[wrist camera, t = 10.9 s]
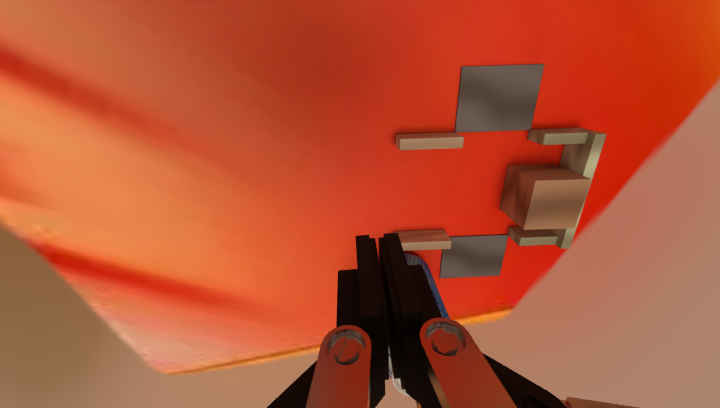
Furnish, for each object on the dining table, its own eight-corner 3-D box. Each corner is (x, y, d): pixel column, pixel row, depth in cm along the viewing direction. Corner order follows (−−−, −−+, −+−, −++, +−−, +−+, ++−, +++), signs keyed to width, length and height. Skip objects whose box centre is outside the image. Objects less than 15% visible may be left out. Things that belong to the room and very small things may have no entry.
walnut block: (507, 164, 36) (535, 180, 30) (554, 163, 36) (591, 179, 30) (498, 207, 38) (523, 229, 33) (542, 206, 38) (574, 228, 33)
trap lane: (397, 68, 31) (403, 67, 27) (597, 62, 31) (630, 60, 27) (392, 279, 42) (396, 298, 39) (538, 273, 43) (556, 291, 39)
